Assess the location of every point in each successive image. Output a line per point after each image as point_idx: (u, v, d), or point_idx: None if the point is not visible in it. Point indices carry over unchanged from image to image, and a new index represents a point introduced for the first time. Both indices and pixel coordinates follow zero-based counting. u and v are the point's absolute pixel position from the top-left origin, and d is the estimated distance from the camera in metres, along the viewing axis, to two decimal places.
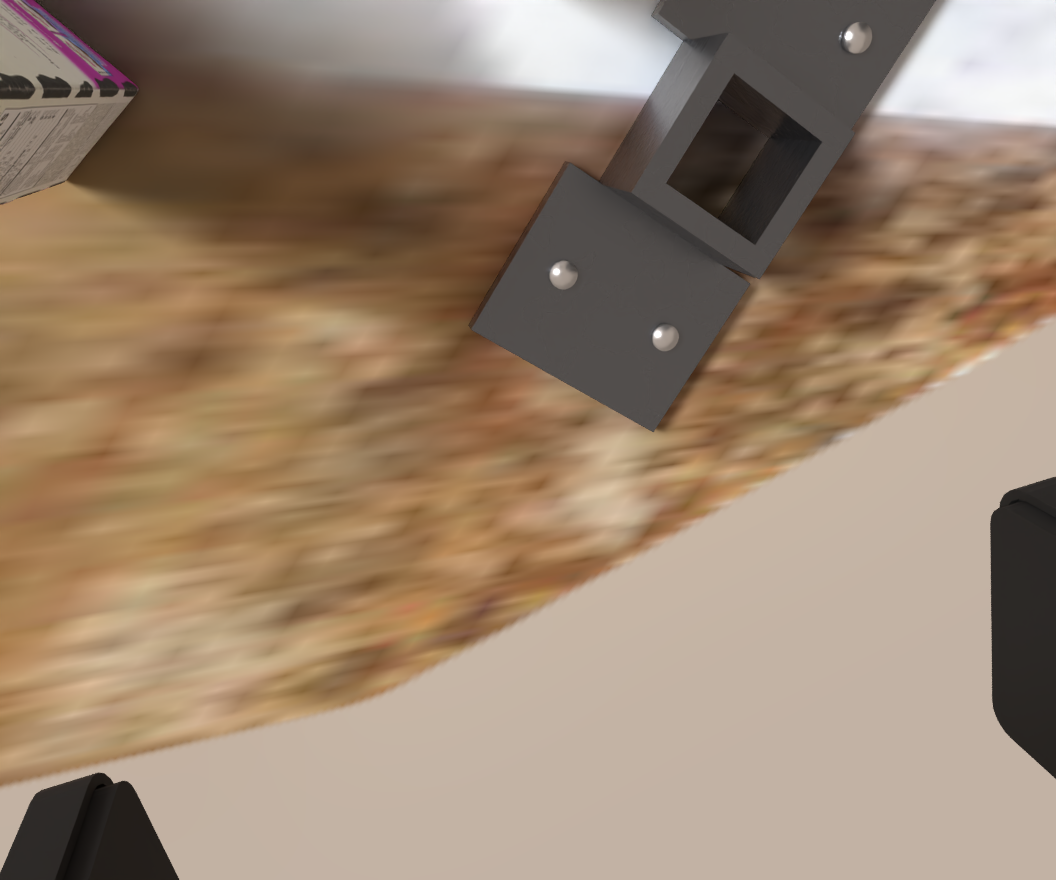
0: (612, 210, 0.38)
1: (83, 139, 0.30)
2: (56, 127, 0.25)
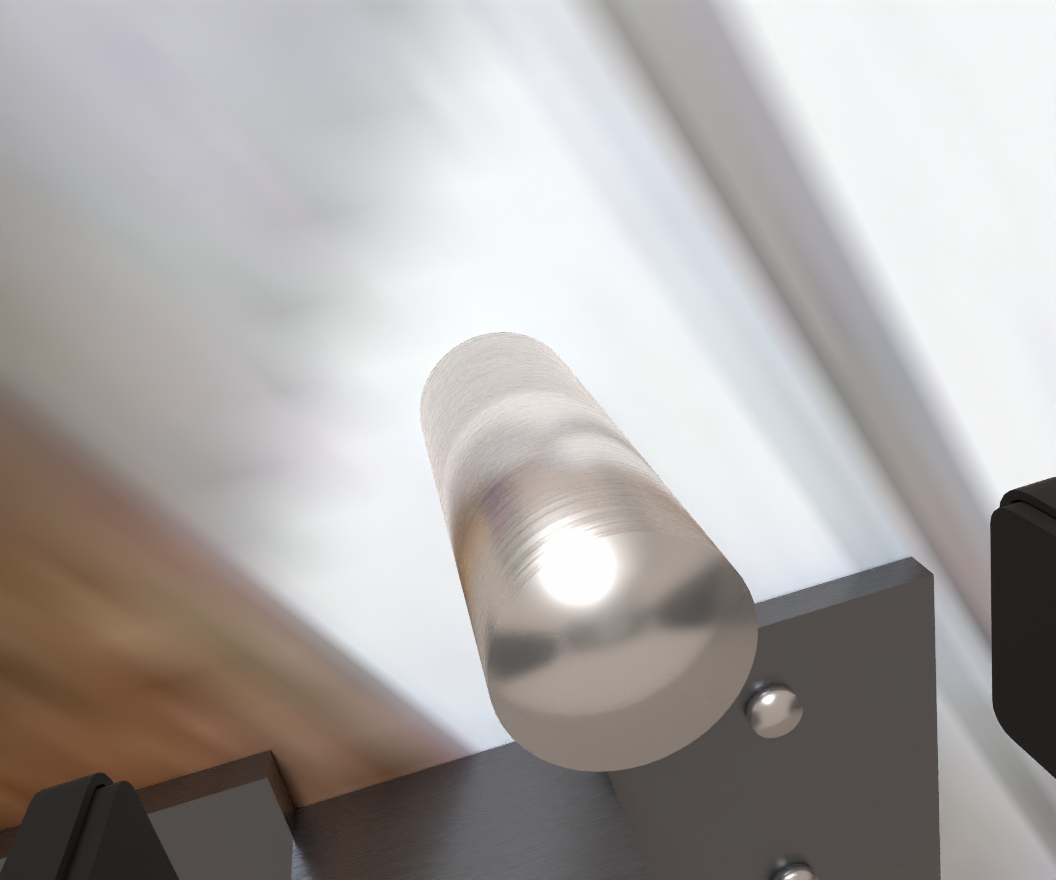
0: (276, 879, 0.19)
1: None
2: None
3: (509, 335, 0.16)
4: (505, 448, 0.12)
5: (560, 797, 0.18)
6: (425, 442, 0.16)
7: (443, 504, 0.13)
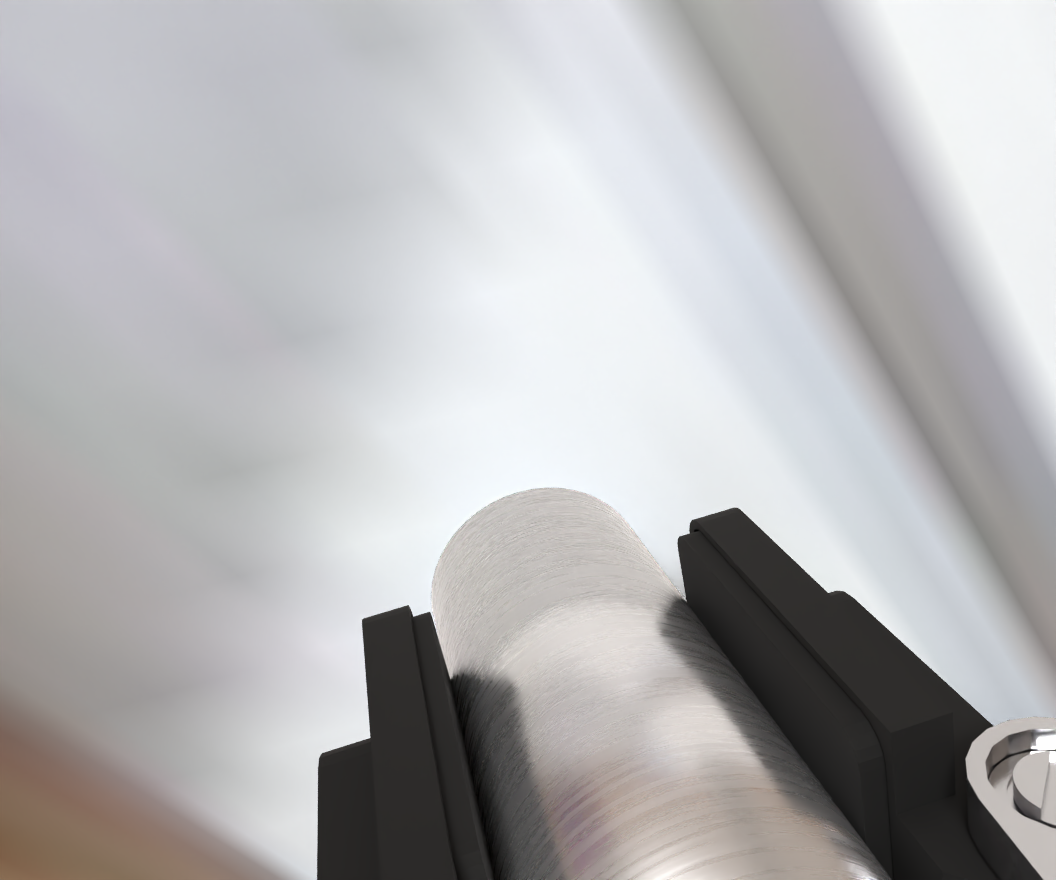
0: None
1: None
2: None
3: (556, 494, 0.12)
4: (586, 765, 0.07)
5: None
6: None
7: None
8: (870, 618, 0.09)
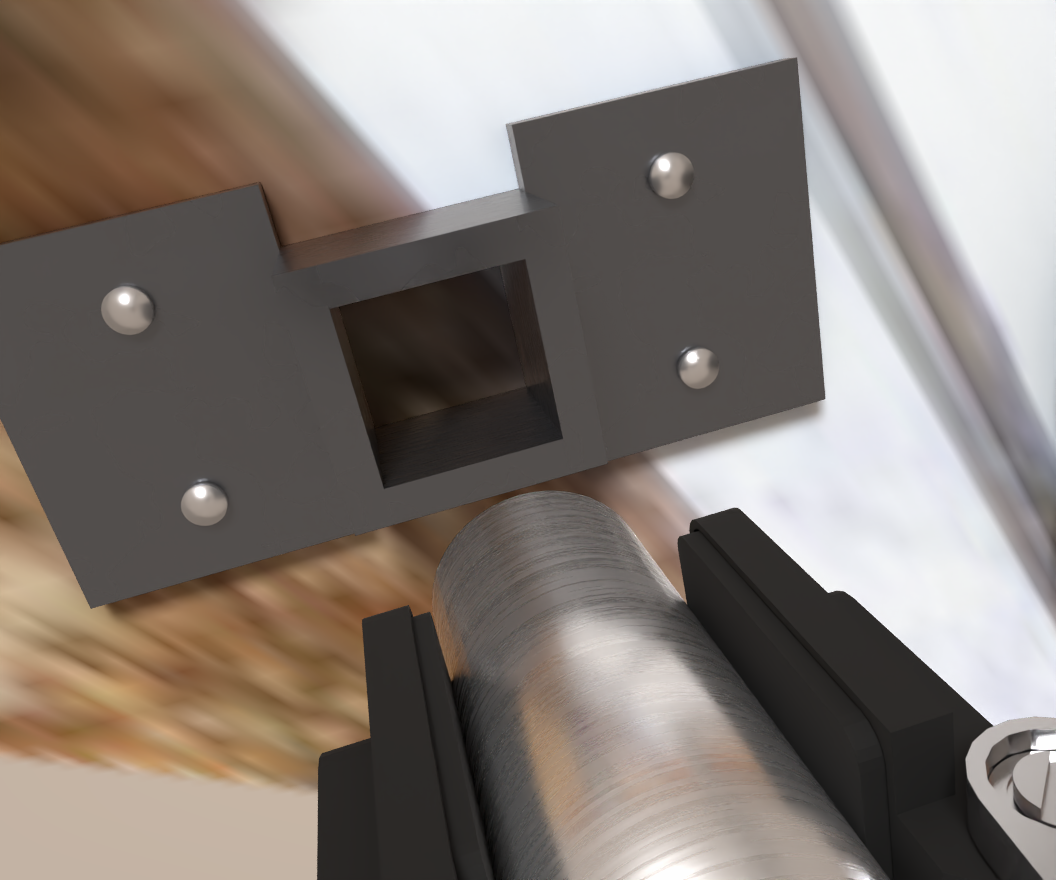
0: (265, 292, 0.23)
1: None
2: None
3: (556, 497, 0.12)
4: (587, 771, 0.07)
5: (493, 205, 0.22)
6: None
7: None
8: (869, 618, 0.09)
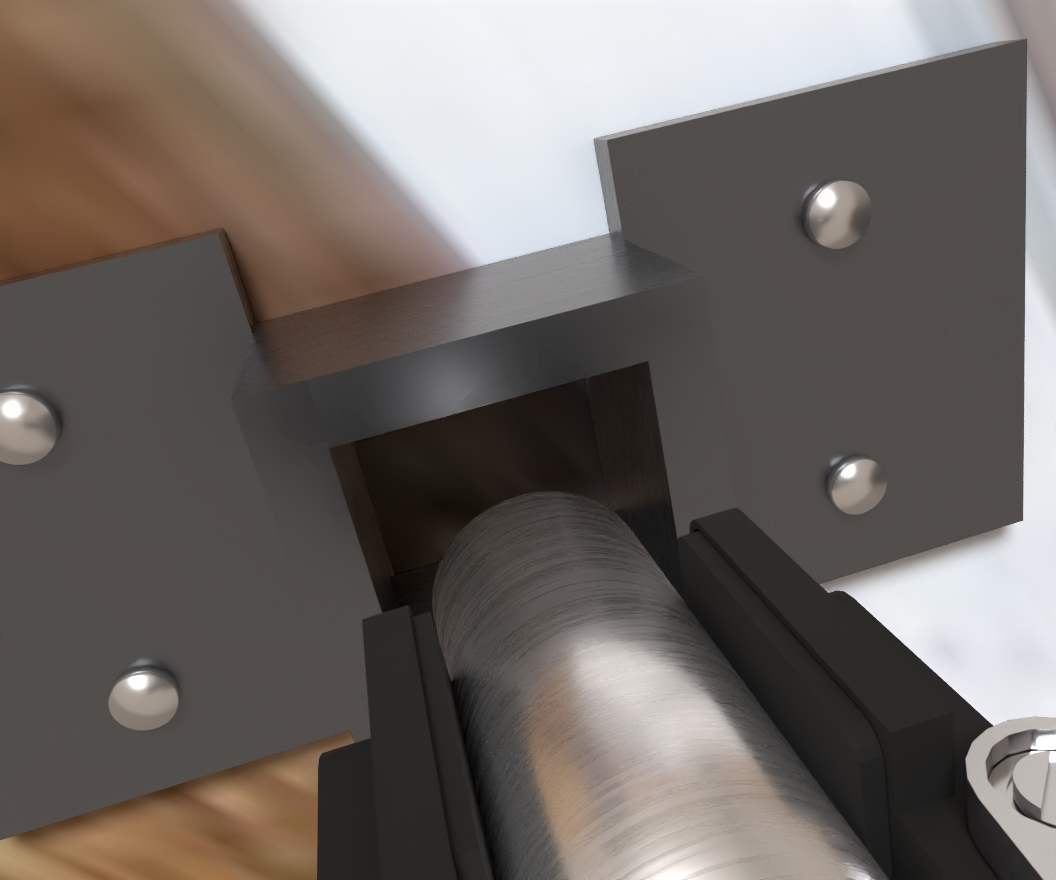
0: (232, 395, 0.15)
1: None
2: None
3: (556, 497, 0.12)
4: (587, 771, 0.07)
5: (582, 264, 0.15)
6: None
7: None
8: (868, 618, 0.09)
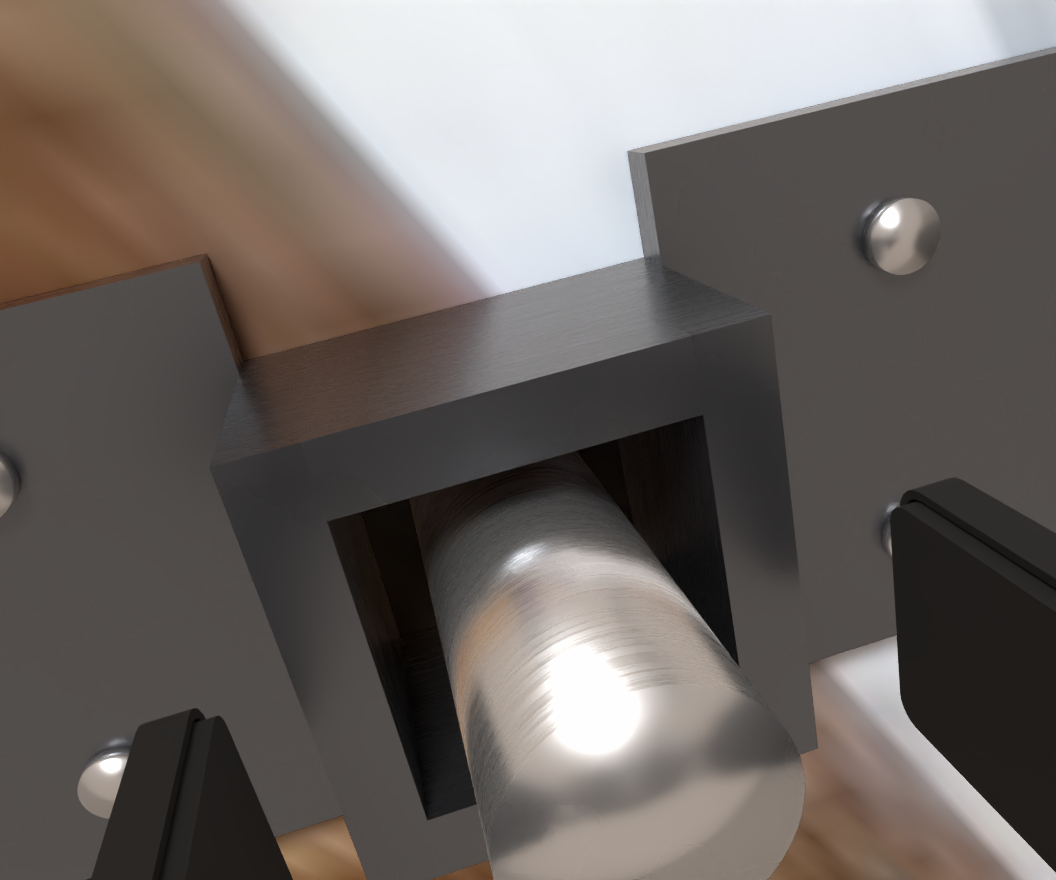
0: (216, 444, 0.13)
1: None
2: None
3: None
4: (504, 558, 0.10)
5: (618, 295, 0.13)
6: None
7: (436, 612, 0.12)
8: None
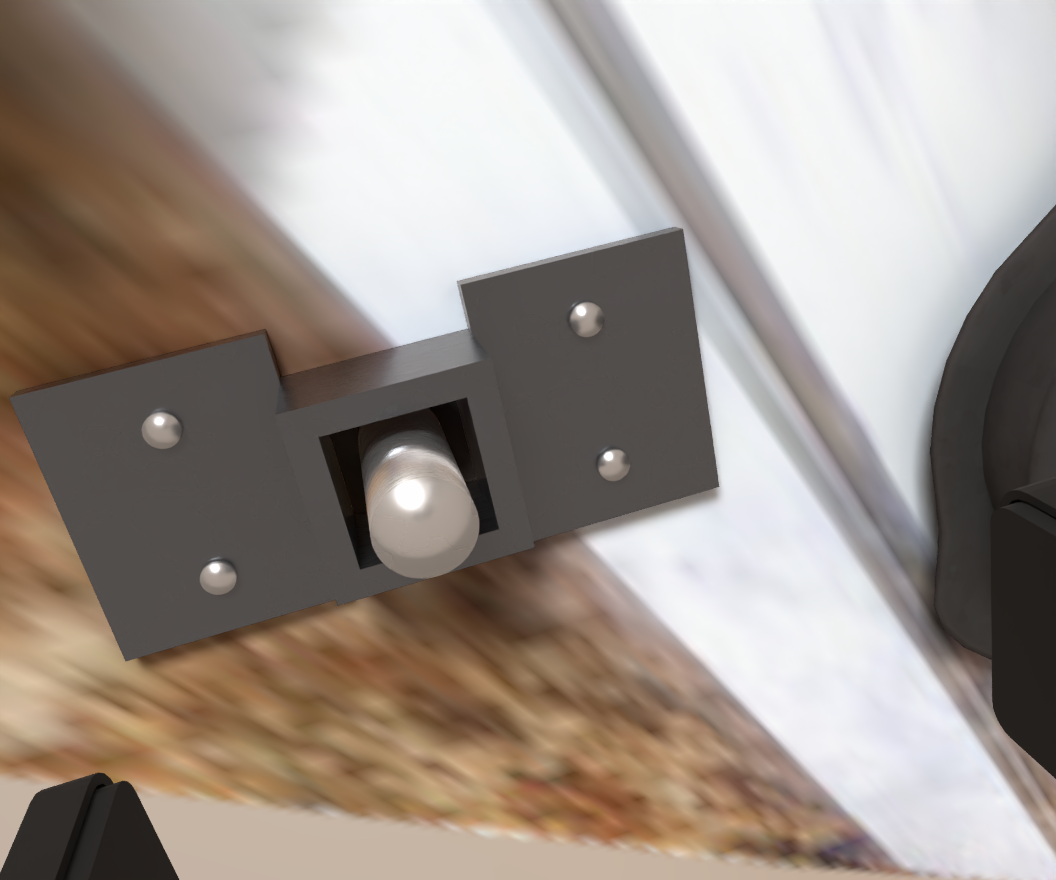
0: (268, 414, 0.30)
1: None
2: None
3: None
4: (386, 451, 0.27)
5: (445, 348, 0.29)
6: None
7: (363, 479, 0.28)
8: None
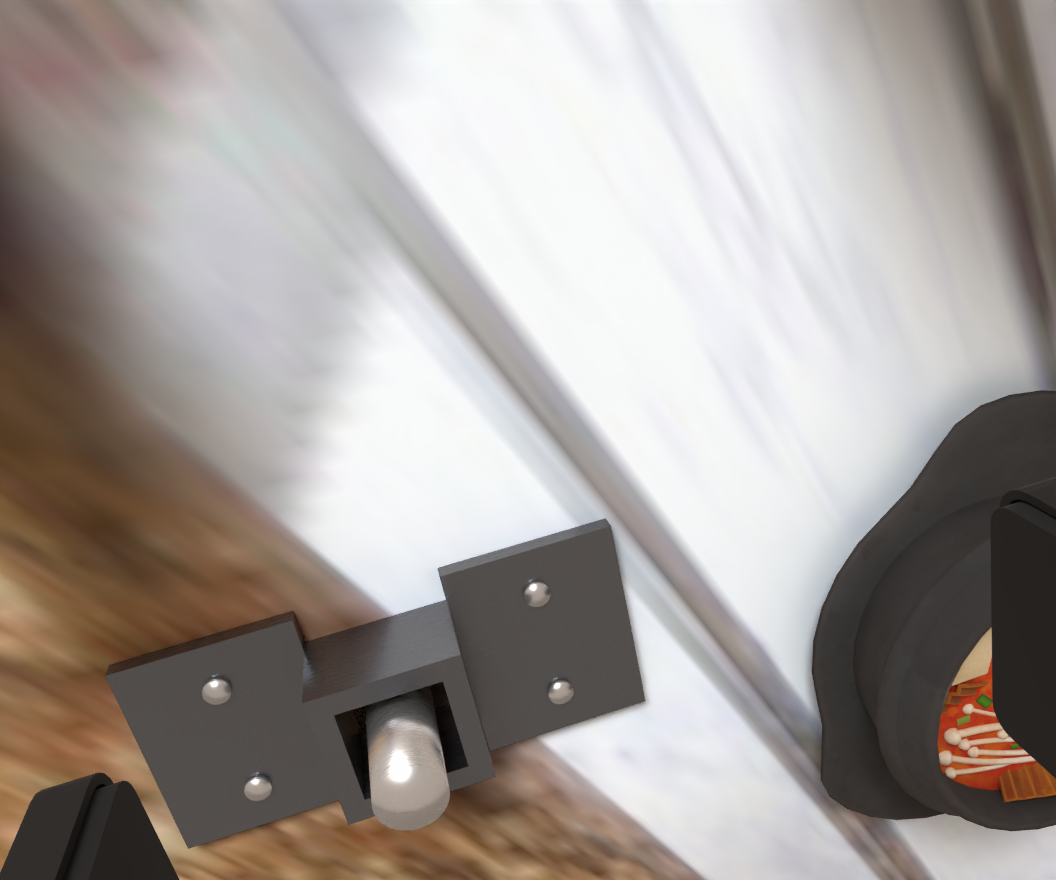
0: (296, 673, 0.39)
1: None
2: None
3: None
4: (383, 725, 0.36)
5: (428, 629, 0.39)
6: None
7: None
8: None
